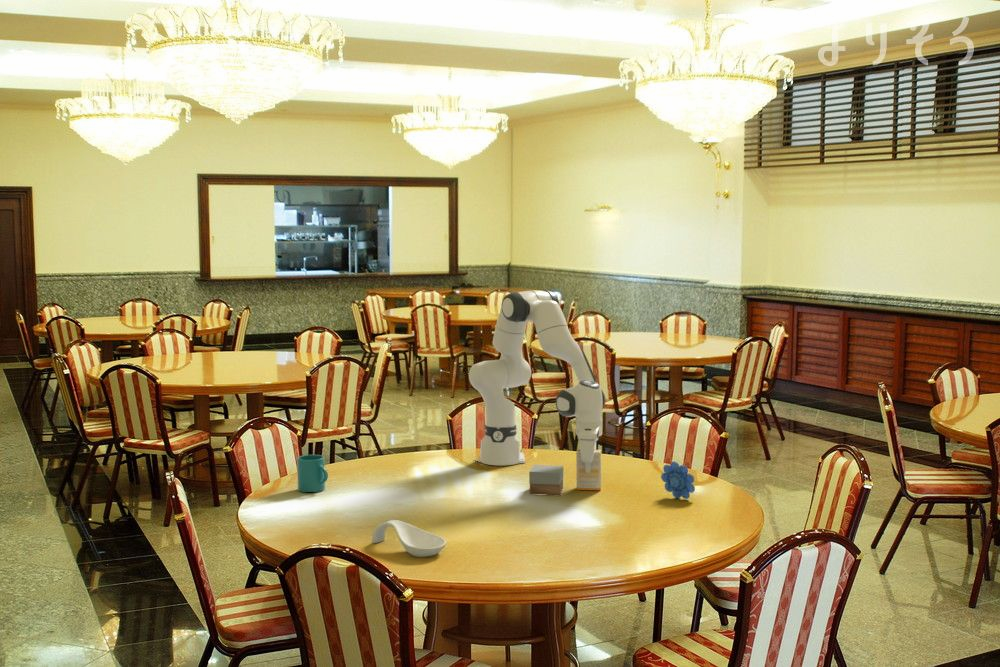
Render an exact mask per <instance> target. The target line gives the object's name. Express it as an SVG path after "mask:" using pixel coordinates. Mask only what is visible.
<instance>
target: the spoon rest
mask: <svg viewBox="0 0 1000 667" xmlns="http://www.w3.org/2000/svg"><path fill="white" fill-rule="evenodd" d="M389 526H390V527H392V528H393V529H394V530H395V532H396V534H397V537H398V539H399V541H400V543H401V545H402V547H403V549H404V550H405V551H406V552H408V553H409V554H410V555H411V556H413V557H417V558H429V557H432V556H434V555H438V554H439V553H440V552H442V550H444V548H445V546H446V545H447V541H446V540H445V539H444V537H442V536H440V535H437V534H435V533H432V532H429V531H426V530H424V529H421V528H419V527H417V526H415V525H413V524H412V525H411V524H410V523H407V522H405V521H402V520H397V519H391V520H388V521H384V522H381V523H380V524H378V525H377V526H376V527H375V529H374V531H373V532H372V536H371V543H372V544H377V543H380V542H384V541H385V538H386V529H387V527H389Z"/></svg>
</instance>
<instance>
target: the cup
mask: <svg viewBox="0 0 1000 667" xmlns="http://www.w3.org/2000/svg"><path fill="white" fill-rule="evenodd" d="M296 463H297V464H296V467H297V470H296V471H297V472H296V473H297V490H298V491H299V492H300V491H301V492H300V493H303V492H317V493H319V492H318V491H321V492H323V491H324V490H325V489H326V482H327V481H328V478H329V475H328V474H329V473H328V470H327V469H326V467H325V466H326V465H325V464H326V462H325V456H324V455H323V454H321V455H320V454H306V455H305V454H304V455H300V456H298V457H297V458H296ZM322 490H323V491H322Z"/></svg>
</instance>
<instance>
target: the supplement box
mask: <svg viewBox="0 0 1000 667" xmlns="http://www.w3.org/2000/svg"><path fill="white" fill-rule="evenodd" d="M601 451H602V450H601V449H596V450H594V458H593V461H592V463H591V472H590V473H586V472H585V463H584V462H582V461H581V454H580V449H576V452H575V453H576V459H575V460H576V463H575V464H576V490H577V491H601V490H602V452H601Z"/></svg>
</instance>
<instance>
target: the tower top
mask: <svg viewBox="0 0 1000 667" xmlns="http://www.w3.org/2000/svg"><path fill="white" fill-rule="evenodd" d="M528 472H529V473H528V474H529V483H528V484H529V485H530V484H551V485H560V483H561V481H562V479H563V480H564V465H547V464H546V465H542V464H541V465H540V464H534V465H533V466H532V468H530V470H529V471H528Z"/></svg>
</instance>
